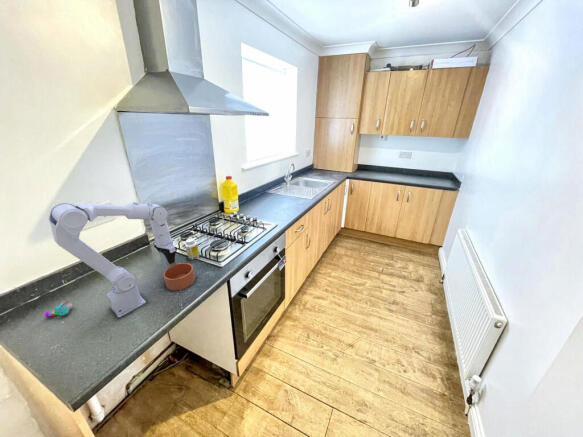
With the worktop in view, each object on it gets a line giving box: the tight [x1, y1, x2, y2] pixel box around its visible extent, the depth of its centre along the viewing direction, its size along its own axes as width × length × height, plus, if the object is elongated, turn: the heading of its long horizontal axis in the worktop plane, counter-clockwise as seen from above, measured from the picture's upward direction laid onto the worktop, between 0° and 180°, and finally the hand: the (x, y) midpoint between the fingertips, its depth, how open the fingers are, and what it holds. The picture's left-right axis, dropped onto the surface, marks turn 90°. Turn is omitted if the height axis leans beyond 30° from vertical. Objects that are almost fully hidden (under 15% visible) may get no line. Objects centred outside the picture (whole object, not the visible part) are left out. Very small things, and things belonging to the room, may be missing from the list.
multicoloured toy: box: [43, 301, 73, 318], centre depth 86 cm, size 5×8×7 cm
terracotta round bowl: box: [162, 262, 196, 291], centre depth 102 cm, size 12×12×6 cm
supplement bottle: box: [184, 237, 200, 260], centre depth 118 cm, size 6×6×10 cm
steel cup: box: [158, 248, 178, 270], centre depth 99 cm, size 5×5×8 cm
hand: (169, 260), depth 100 cm, fingers closed on steel cup, 5 cm apart
